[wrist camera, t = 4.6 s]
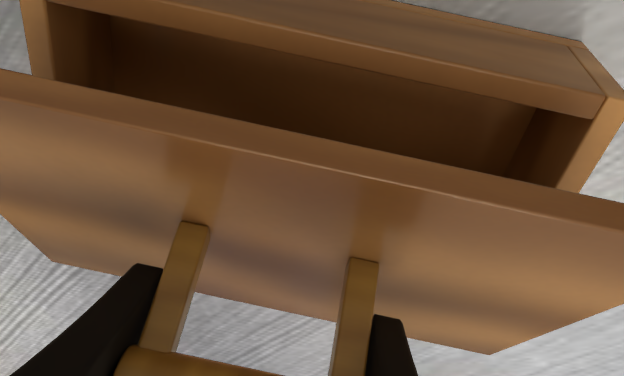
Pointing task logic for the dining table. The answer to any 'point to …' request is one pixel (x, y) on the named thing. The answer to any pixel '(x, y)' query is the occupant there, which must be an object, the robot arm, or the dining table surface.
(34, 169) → the lid
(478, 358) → the dining table surface
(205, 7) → the box
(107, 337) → the robot arm
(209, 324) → the dining table surface
